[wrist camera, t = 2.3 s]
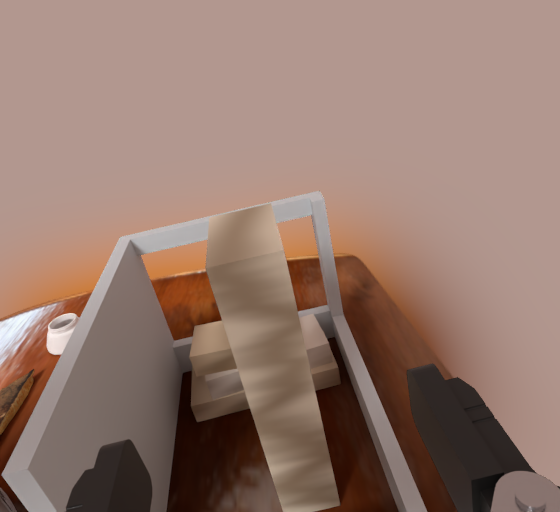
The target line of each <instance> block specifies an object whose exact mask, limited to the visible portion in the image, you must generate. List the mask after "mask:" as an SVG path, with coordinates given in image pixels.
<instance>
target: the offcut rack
mask: <svg viewBox="0 0 560 512" xmlns="http://www.w3.org/2000/svg"><path fill="white" fill-rule="evenodd" d="M270 203H271V205H272V209H273V212H274V216H275V219H276V223H279V222H284V221H288V220H292V219H297V218H301V217H305V216H310V215H311V216H312V222H313V227H314V233H315V238H316V244H317V249H318V255H319V260H320V265H321V271H322V276H323V282H324V287H325V293H326V298H327V303H328V305H325V306H320V307H316V308H312V309H308V310H303V311H299V312H298V315H299V318H300V317H303V316H307V315H310V314H314V316H315V318H316V320H317V321H318V323H319V325H320V327H321V329H322V331H324V334H325V336H326V338H327V339H328V338H333V337H335V339H336V342H337V344H338V347H339V350H340V353H341V355H342V358H343V361H344V363H345V366H346V369H347V372H348V374H349V377H350V380H351V383H352V385H353V388H354V391H355V394H356V396H357V399H358V402H359V405H360V407H361V410H362V413H363V415H364V418H365V421H366V424H367V426H368V429H369V432H370V435H371V437H372V440H373V443H374V446H375V448H376V451H377V454H378V456H379V459H380V462H381V465H382V467H383V470H384V473H385V476H386V478H387V481H388V484H389V487H390V489H391V492H392V495H393V498H394V500H395V503H396V506H397V508H398V511H399V512H427V510H426V507H425V505H424V503H423V500H422V498H421V496H420V493H419V491H418V489H417V486H416V484H415V482H414V479H413V477H412V474H411V472H410V470H409V467H408V465H407V463H406V460H405V458H404V456H403V453H402V451H401V449H400V446H399V444H398V442H397V439H396V437H395V434H394V432H393V430H392V427H391V425H390V423H389V420H388V418H387V416H386V413H385V411H384V409H383V406H382V404H381V402H380V399H379V397H378V394H377V392H376V390H375V387H374V385H373V383H372V380H371V378H370V376H369V373H368V371H367V369H366V366H365V364H364V362H363V359H362V357H361V355H360V352H359V350H358V347H357V345H356V343H355V340H354V338H353V336H352V333H351V331H350V329H349V326H348V324H347V322H346V319H345V317H344V315H343V309H342V303H341V297H340V291H339V285H338V279H337V273H336V267H335V261H334V255H333V249H332V243H331V237H330V231H329V225H328V219H327V213H326V207H325V201H324V198H323V196H322V194H321V193H320V191H316V192H312V193H307V194H303V195H299V196H295V197H290V198H286V199H282V200H277V201H273V202H269V203H265V204H260V205H256V206H252V207H247V208H243V209H239V210H234V211H230V212H226V213H222V214H217V215H213V216H209V217H205V218H200V219H196V220H191V221H187V222H183V223H179V224H175V225H170V226H166V227H161V228H157V229H153V230H149V231H144V232H140V233H136V234H132V235H127V236H123V237H120V238H119V241H118V243H117V245H116V247H115V249H114V251H113V253H112V255H111V257H110V259H109V261H108V263H107V265H106V267H105V269H104V271H103V273H102V275H101V277H100V279H99V281H98V283H97V285H96V287H95V289H94V291H93V293H92V295H91V297H90V299H89V301H88V303H87V305H86V307H85V309H84V311H83V313H82V315H81V317H80V319H79V321H78V323H77V325H76V327H75V329H74V331H73V333H72V335H71V337H70V339H69V341H68V343H67V345H66V347H65V349H64V351H63V353H62V355H61V357H60V359H59V361H58V363H57V365H56V367H55V369H54V371H53V373H52V375H51V377H50V379H49V381H48V383H47V385H46V387H45V389H44V391H43V393H42V395H41V397H40V399H39V401H38V403H37V405H36V407H35V409H34V411H33V413H32V415H31V417H30V419H29V421H28V423H27V425H26V427H25V429H24V431H23V433H22V435H21V437H20V439H19V441H18V443H17V445H16V447H15V449H14V451H13V453H12V455H11V457H10V459H9V461H8V463H7V465H6V467H5V469H4V471H3V473H2V477H3V478H4V479H5V481H6V482H7V483H8V485H9V486H10V487H11V489H12V490H13V491H14V493H15V494H16V495H17V497H18V498H19V500H20V501H21V502H22V504H23V505H24V506H25V508H26V509H27V510H28V512H66V506H67V503H68V500H69V497H70V494H71V491H72V488H73V487H74V485H75V484H76V483H77V481H78V480H79V478H80V477H81V475H82V474H83V473H84V471H85V470H88V469H92V468H94V465H95V462H96V459H97V455H98V452H99V450H100V448H101V447H102V446H103V445H107V444H111V443H115V442H119V441H123V440H127V439H130V440H131V441H132V442H133V444H134V445H135V447H136V449H137V451H138V453H139V455H140V457H141V459H142V461H143V463H144V464H145V466H146V468H147V470H148V472H149V474H150V477H151V481H152V502H151V508H150V512H166V511H167V503H168V494H169V486H170V477H171V469H172V460H173V452H174V443H175V435H176V426H177V418H178V409H179V401H180V392H181V384H182V375H183V373H184V372H188V371H192V363H191V360H190V358H189V356H190V350H191V345H192V339H193V337H189V338H184V339H180V340H176V341H174V340H173V337H172V335H171V332H170V330H169V327H168V324H167V322H166V319H165V317H164V314H163V312H162V309H161V307H160V304H159V301H158V299H157V296H156V294H155V291H154V289H153V286H152V283H151V281H150V278H149V276H148V273H147V271H146V268H145V266H144V263H143V260H142V258H141V255H143V254H147V253H151V252H155V251H159V250H164V249H168V248H173V247H177V246H181V245H185V244H190V243H194V242H198V241H202V240H207V239H208V228H209V218H210V217H214V216H218V215H223V214H227V213H231V212H236V211H240V210H244V209H248V208H253V207H257V206H261V205H266V204H270Z"/></svg>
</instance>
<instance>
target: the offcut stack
mask: <svg viewBox="0 0 560 512" xmlns="http://www.w3.org/2000/svg"><path fill="white" fill-rule="evenodd" d="M299 320H300V324H301V329H302V333H303V338H304V343H305V347H306V352H307V356H308V361H309V365H310V370H311V374H312V379H313V383H314V388H315V391H316V390H320V389H324V388H328V387H331V386H335V385H339V384H341V380H340V374H339V369H338V366H337V363H336V361H335V358H334V356H333V353H332V351H331V348H330V346H329V342H328V340H327V338H326V336H325V334H324V331H322V329H321V327H320V325H319V323H318V321H317V320H316V318H315V316H314V314H310V315H307V316H303V317H300V318H299ZM189 358H190V360H191V363H192V387H191V408H192V411H193V413H194V416H195V418H196V421H197V422H201V421H204V420H208V419H212V418H216V417H219V416H223V415H227V414H230V413H234V412H238V411H242V410H245V409H249V408H250V406H249V403H248V400H247V397H246V394H245V391H244V388H243V384H242V381H241V378H240V375H239V372H238V369H237V366H236V362H235V359H234V356H233V353H232V350H231V347H230V344H229V340H228V337H227V334H226V331H225V328H224V325H223V322H222V321H217V322H212V323H207V324H203V325H198V326H195V327H194V333H193V339H192V345H191V350H190V356H189Z"/></svg>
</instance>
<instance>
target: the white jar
mask: <svg viewBox="0 0 560 512" xmlns="http://www.w3.org/2000/svg"><path fill="white" fill-rule="evenodd" d="M79 319H80V317H77V315H76V314H74V313H68V314H64V315H61V316H59V317H57V318H55V319H54V320H53V321H51V322H50V324H49V325H48V330H49V331H48V334H47V349H48V351H49V353H51V354H54V355H61V354H62V353H63V351H64V349H65V347H66V345H67V343H68V341H69V339H70V337H71V335H72V333H73V331H74V329H75V327H76V325H77V323H78V321H79Z"/></svg>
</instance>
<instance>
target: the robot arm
mask: <svg viewBox="0 0 560 512" xmlns="http://www.w3.org/2000/svg"><path fill="white" fill-rule="evenodd" d="M407 380H408V388H409V396H410V404H411V411H412V415H413V418H414V422H415V424H416V427H417V429H418V432H419V434H420V436H421V438H422V440H423V442H424V444H425V446H426V448H427V450H428V452H429V454H430V456H431V458H432V460H433V462H434V464H435V466H436V468H437V470H438V472H439V474H440V476H441V478H442V480H443V482H444V484H445V486H446V488H447V490H448V492H449V495H450V497H451V499H452V501H453V503H454V505H455V507H456V509H457V511H458V512H560V487H559V486H556V485H555V484H553V482H551V481H550V480H548V479H547V478H545V477H543V476H541V475H539V474H537V473H536V472H535V471H534V470H533V469H532V468H531V467H530V466H529V464H528V463H527V461H526V460H525V459H524V457H523V456H522V454H521V453H520V452H519V450H518V449H517V447H516V446H515V445H514V443H513V442H512V441H511V439H510V438H509V436H508V435H507V433H506V432H505V431H504V430H503V428H502V426H501V425H500V424H499V422H498V421H497V419H495V418H494V415H493V414H492V412H491V411H490V410H489V408H488V407H486V405H485V403H484V401H483V400H482V398H481V397H480V396H479V394H478V393H477V392H476V390H475V389H474V388H473V387H471V386H470V385H469V384H467V383H466V382H464V381H463V380H461V379H459V378H458V377H457V378H453V379H449V380H444V378H443V376H442V375H441V373H440V372H439V370H438V369H437V367H436V366H435V365H434V364H429V365H425V366H421V367H417V368H413V369H409V370H407ZM151 502H152V481H151V477H150V474H149V472H148V470H147V468H146V466H145V464H144V463H143V461H142V459H141V457H140V455H139V453H138V451H137V449H136V447H135V445H134V444H133V442H132V441H131V440H130V439H127V440H123V441H119V442H115V443H111V444H107V445H103V446H102V447H101V448H100V450H99V452H98V455H97V459H96V462H95V465H94V468H92V469H88V470H85V471H84V473H83V474H82V475H81V477H80V478H79V480H78V481H77V483H76V484H75V485H74V487H73V488H72V491H71V494H70V497H69V500H68V503H67V506H66V512H150V508H151Z"/></svg>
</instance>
